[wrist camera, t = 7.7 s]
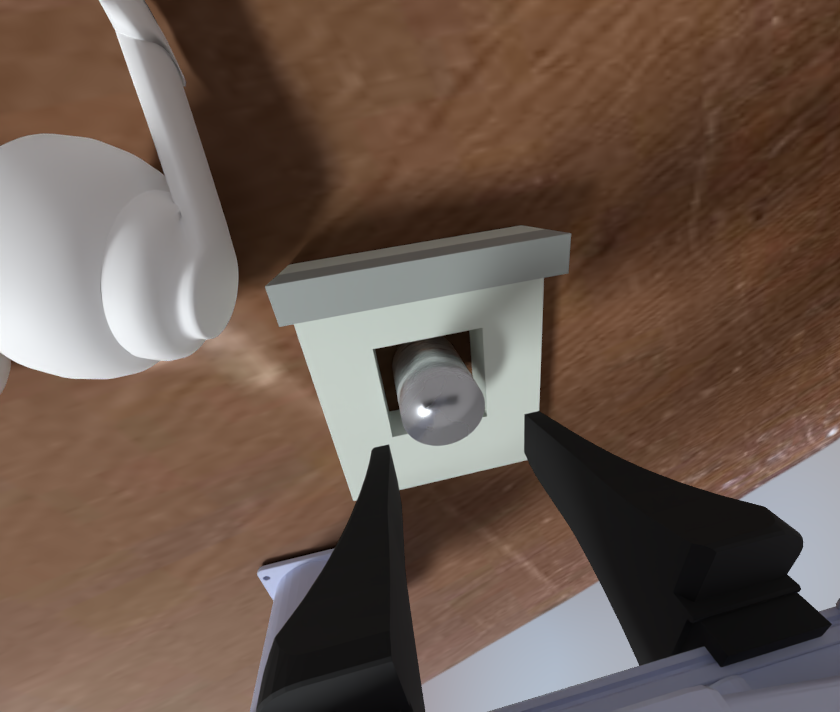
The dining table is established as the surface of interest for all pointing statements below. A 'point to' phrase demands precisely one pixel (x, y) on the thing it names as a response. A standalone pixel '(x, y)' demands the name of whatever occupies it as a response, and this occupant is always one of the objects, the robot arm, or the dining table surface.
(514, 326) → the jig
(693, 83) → the dining table surface
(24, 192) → the headphones
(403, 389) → the peg
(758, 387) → the dining table surface
